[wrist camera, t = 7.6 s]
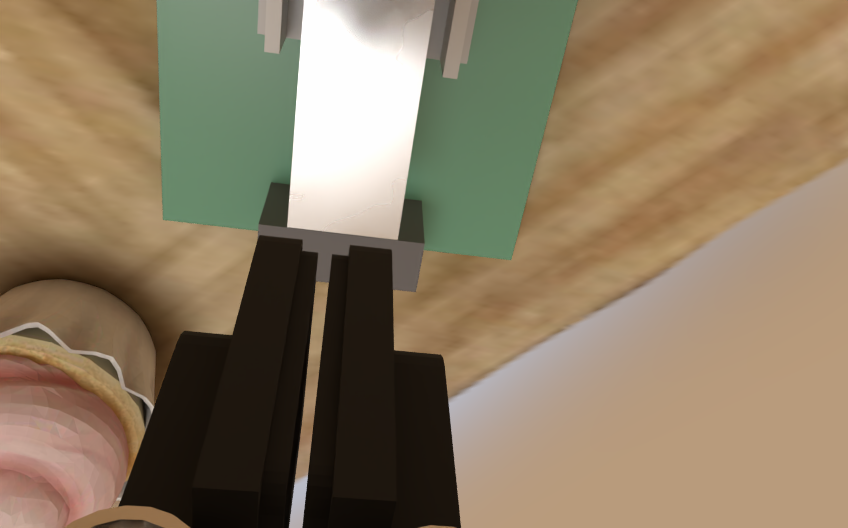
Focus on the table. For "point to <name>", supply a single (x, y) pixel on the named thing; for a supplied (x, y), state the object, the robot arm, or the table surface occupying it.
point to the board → (433, 138)
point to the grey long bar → (357, 113)
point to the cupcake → (69, 401)
